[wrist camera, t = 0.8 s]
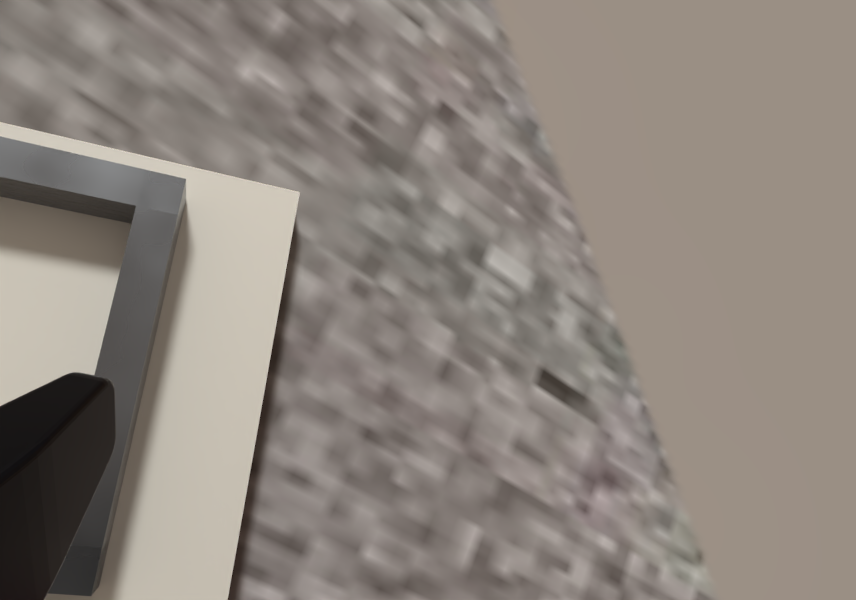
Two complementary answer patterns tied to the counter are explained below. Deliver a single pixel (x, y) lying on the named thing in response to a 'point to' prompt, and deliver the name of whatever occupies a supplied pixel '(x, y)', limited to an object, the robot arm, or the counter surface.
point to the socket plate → (145, 345)
